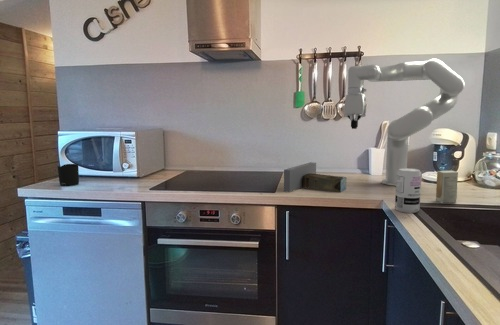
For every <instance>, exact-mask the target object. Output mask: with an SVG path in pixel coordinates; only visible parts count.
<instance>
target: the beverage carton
mask: <svg viewBox="0 0 500 325" xmlns="http://www.w3.org/2000/svg"><path fill="white" fill-rule="evenodd" d="M302 188H303V189H309V190H311V189H312V190H316V191H317V190H319V191H325V192H334V193H335V192H336V193H342V192H344V191H345V190H347V177H345V176H341V175H340V176H337V175H329V174H327V175H326V174H321V173H316V174H312V173H309V174H306V175H304V176H303V187H302Z"/></svg>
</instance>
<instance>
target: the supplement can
mask: <svg viewBox="0 0 500 325" xmlns="http://www.w3.org/2000/svg"><path fill="white" fill-rule="evenodd" d="M422 175H423V174H422V172H421V170H420V169H419V168H412V167H411V168H410V167H409V168H408V167H407V168H401V169H399V170H398V172H397V176H396V186H395V196H394V198H395V199H394V200H395V201H394V203H395V204H394V208H395V209H396V211H398V212H401V213H405V214H407V213H408V214H415V213H418V212H419V211H420V207H421V191H422V190H421V189H422Z"/></svg>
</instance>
